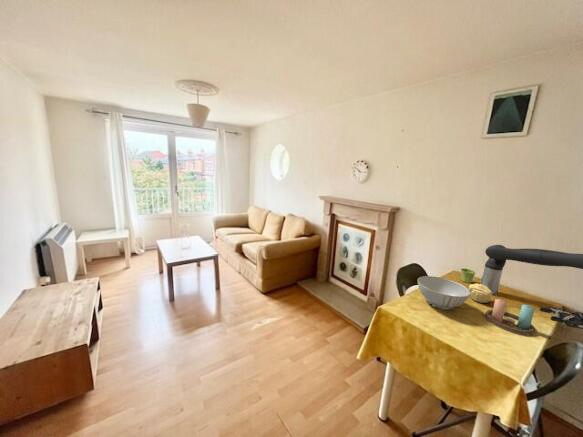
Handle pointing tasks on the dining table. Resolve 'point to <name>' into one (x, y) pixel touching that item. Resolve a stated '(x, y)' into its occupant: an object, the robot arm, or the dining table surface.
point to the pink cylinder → (499, 310)
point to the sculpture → (480, 293)
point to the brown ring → (509, 323)
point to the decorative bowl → (443, 292)
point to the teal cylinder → (525, 317)
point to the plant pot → (467, 275)
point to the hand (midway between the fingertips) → (545, 313)
